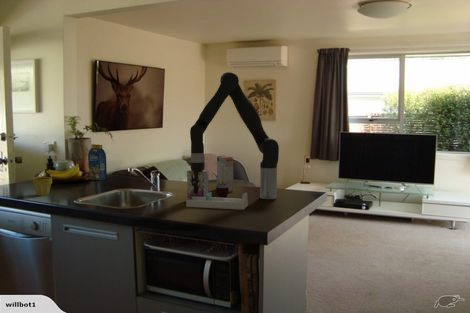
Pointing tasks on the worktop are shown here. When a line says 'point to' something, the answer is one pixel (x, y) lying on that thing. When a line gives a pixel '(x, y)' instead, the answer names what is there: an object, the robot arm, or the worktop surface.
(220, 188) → the mate gourd
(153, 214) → the worktop surface
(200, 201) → the pusher lane
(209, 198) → the pusher paddle
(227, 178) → the cracker box
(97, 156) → the blue food package
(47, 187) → the plant pot
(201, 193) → the candy bar box
